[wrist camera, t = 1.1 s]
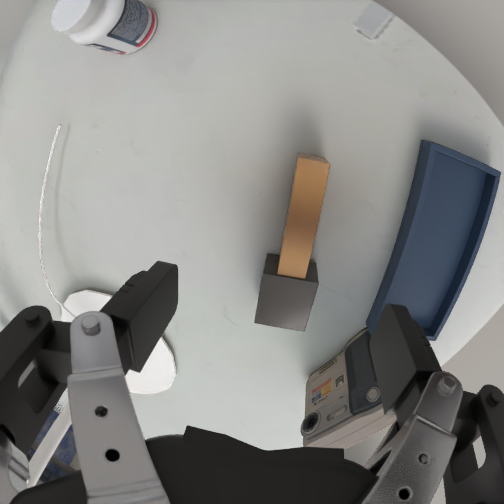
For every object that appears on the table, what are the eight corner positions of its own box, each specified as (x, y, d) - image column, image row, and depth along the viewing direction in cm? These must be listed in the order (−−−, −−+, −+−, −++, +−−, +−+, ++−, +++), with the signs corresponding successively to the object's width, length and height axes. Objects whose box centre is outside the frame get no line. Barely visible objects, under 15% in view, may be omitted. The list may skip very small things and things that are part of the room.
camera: (371, 319, 27) (393, 396, 18) (401, 344, 28) (424, 415, 19) (295, 376, 31) (291, 448, 22) (328, 394, 32) (330, 462, 23)
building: (29, 409, 61) (-2, 455, 40) (27, 386, 51) (-15, 444, 30) (84, 451, 64) (59, 501, 43) (96, 440, 55) (63, 504, 34)
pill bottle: (154, -2, 17) (100, -37, 9) (162, 40, 19) (103, 12, 11) (106, 22, 18) (45, 2, 10) (113, 64, 20) (46, 52, 12)
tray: (421, 139, 19) (431, 141, 17) (489, 168, 19) (501, 172, 17) (365, 322, 27) (369, 334, 25) (429, 329, 26) (435, 341, 25)
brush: (283, 150, 22) (281, 154, 18) (338, 161, 21) (346, 167, 18) (259, 300, 28) (254, 323, 24) (304, 307, 27) (304, 331, 24)
